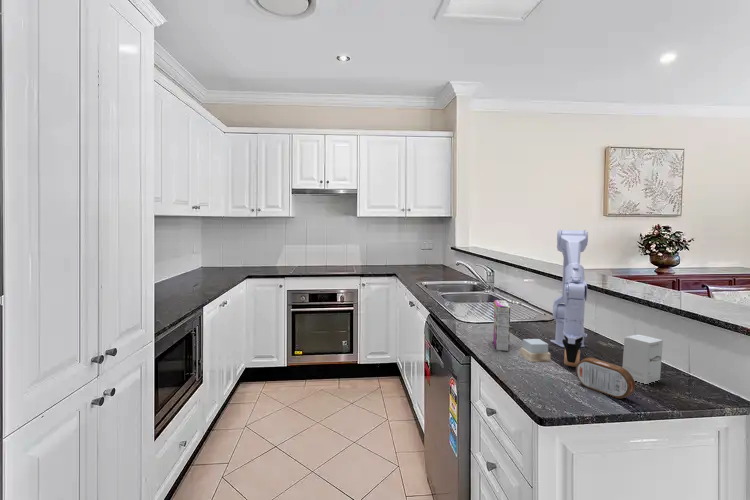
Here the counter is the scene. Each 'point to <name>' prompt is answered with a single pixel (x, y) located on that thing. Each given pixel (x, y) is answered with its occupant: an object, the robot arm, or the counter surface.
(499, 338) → the candy bar box
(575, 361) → the light brown cylinder
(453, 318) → the counter surface
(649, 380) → the supplement box
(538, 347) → the grey-blue top block
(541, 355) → the birch base block
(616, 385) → the tin
